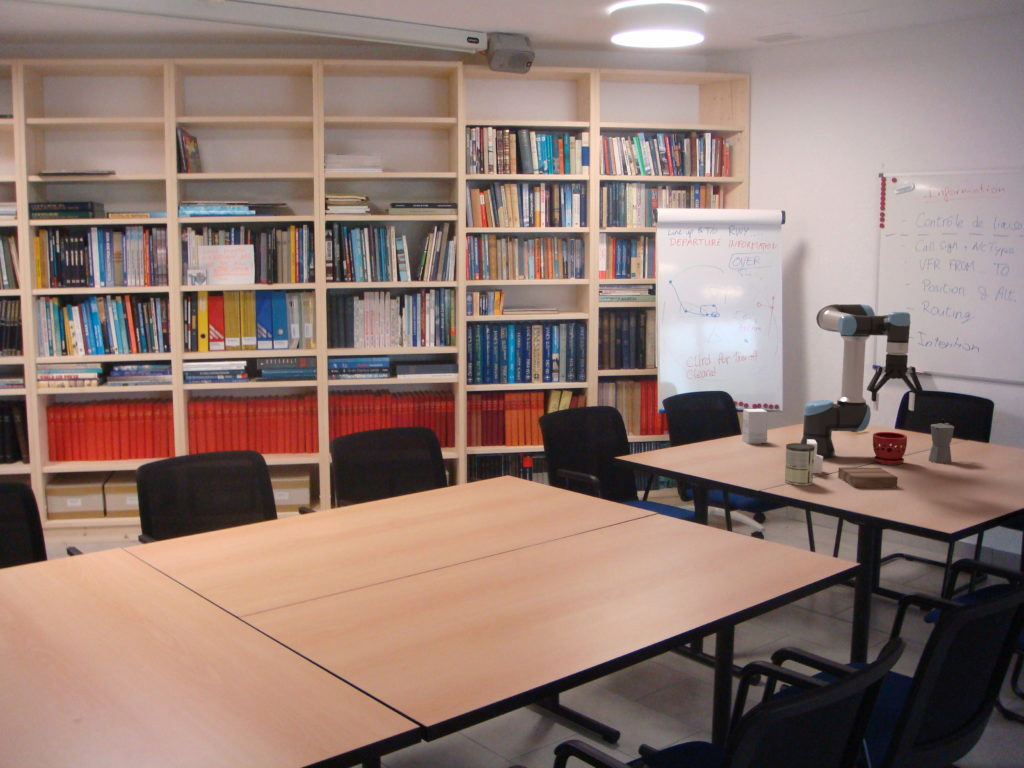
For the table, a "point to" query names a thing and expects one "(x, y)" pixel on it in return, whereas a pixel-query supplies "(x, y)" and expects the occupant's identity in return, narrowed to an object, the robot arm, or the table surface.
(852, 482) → the walnut plinth
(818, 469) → the base with upright slab
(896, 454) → the plant pot
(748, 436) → the supplement box
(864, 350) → the robot arm
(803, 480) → the coffee can
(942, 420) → the coffeepot
